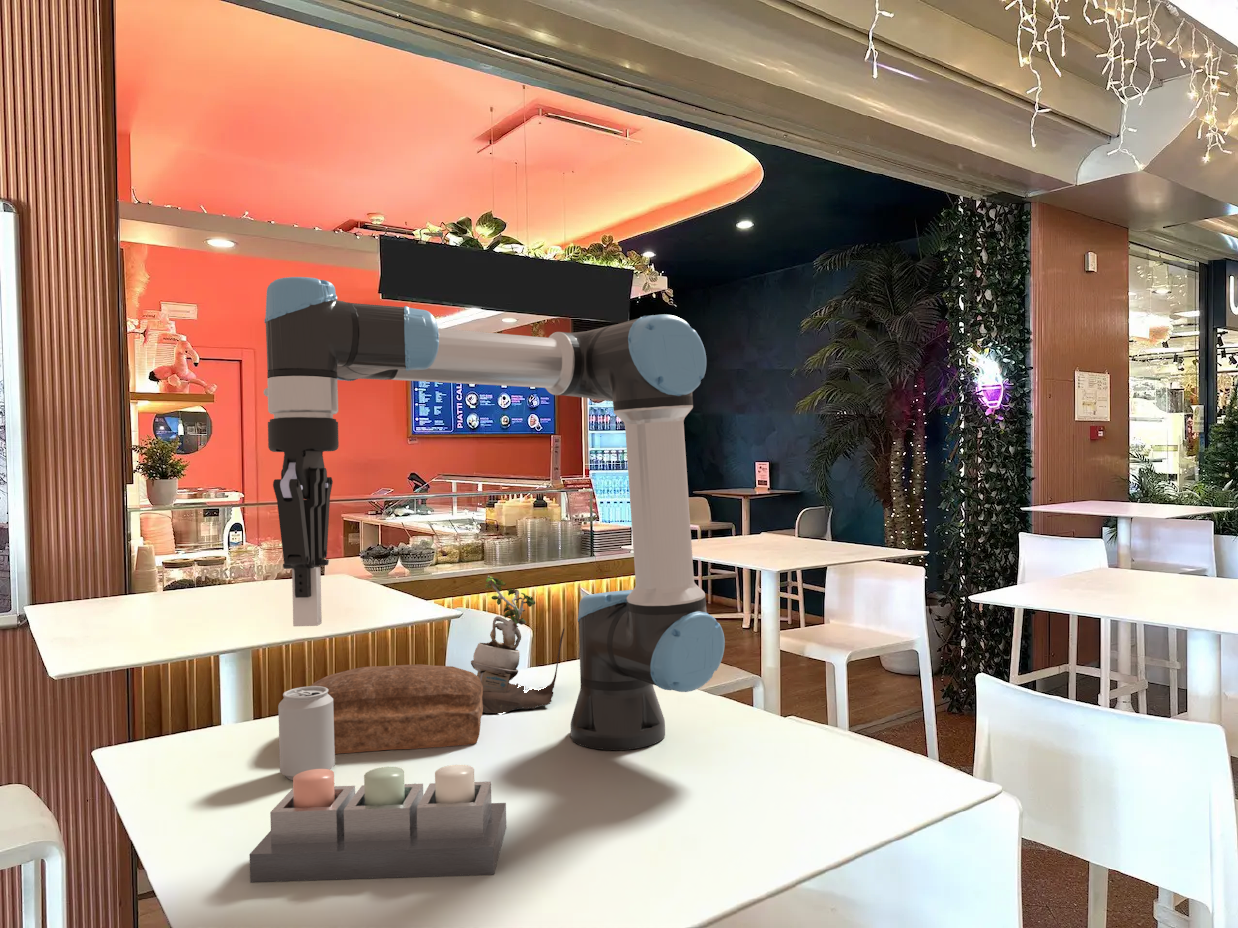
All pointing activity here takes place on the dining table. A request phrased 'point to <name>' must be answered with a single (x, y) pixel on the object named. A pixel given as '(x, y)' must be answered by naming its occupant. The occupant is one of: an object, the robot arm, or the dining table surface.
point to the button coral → (313, 788)
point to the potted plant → (506, 661)
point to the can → (306, 730)
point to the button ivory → (455, 784)
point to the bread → (404, 707)
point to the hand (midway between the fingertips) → (307, 624)
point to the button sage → (384, 786)
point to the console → (381, 838)
